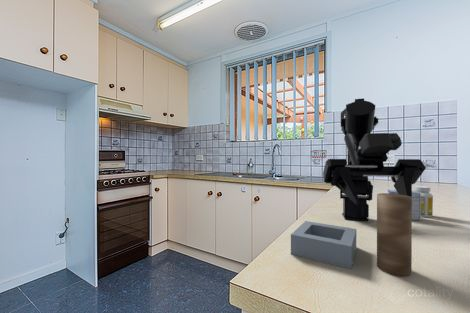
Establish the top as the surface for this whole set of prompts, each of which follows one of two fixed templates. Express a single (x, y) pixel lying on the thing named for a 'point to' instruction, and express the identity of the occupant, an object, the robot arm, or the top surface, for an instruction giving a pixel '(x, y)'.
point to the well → (325, 243)
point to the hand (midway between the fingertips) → (383, 204)
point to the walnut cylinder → (394, 234)
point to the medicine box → (413, 204)
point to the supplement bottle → (425, 201)
